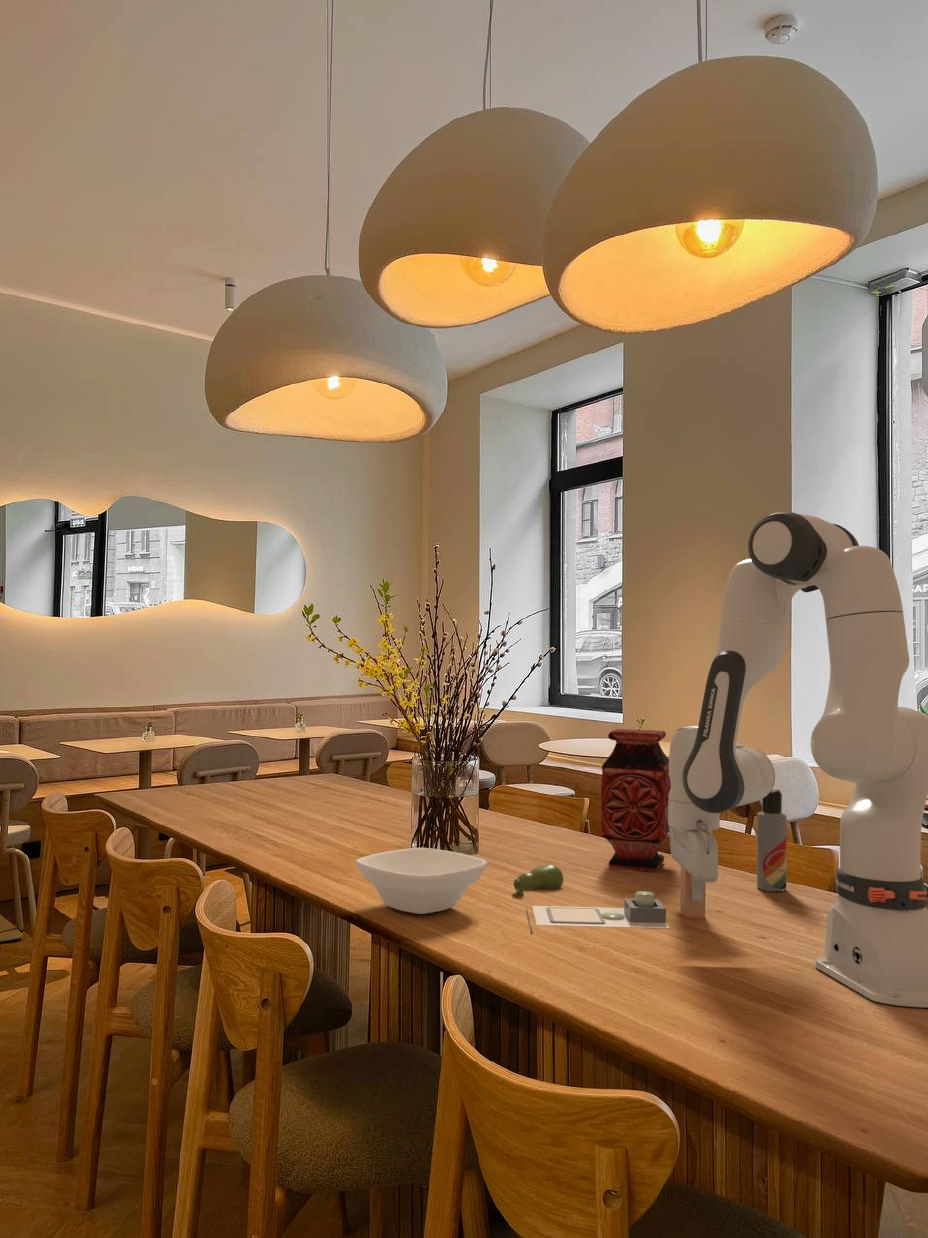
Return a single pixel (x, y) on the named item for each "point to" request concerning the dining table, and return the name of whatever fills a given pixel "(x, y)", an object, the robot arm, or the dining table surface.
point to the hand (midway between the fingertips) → (692, 896)
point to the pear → (539, 879)
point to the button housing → (645, 912)
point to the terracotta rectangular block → (687, 903)
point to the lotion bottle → (772, 844)
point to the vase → (635, 799)
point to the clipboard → (586, 917)
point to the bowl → (421, 877)
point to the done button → (644, 899)
